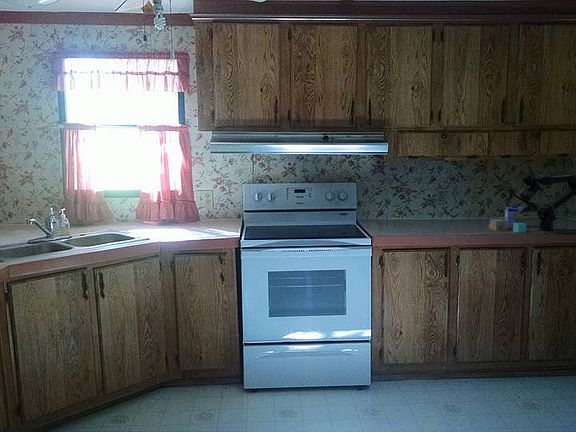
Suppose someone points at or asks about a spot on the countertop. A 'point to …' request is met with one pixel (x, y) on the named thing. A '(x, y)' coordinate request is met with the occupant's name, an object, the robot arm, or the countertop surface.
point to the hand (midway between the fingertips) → (512, 209)
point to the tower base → (498, 227)
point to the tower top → (498, 222)
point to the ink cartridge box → (513, 215)
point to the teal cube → (519, 227)
